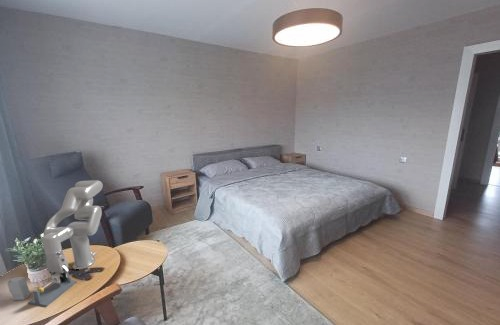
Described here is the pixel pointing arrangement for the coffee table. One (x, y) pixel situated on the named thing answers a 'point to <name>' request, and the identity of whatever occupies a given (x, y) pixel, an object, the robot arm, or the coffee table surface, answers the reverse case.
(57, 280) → the sleeve
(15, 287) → the skincare box
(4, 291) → the coffee table surface
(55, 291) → the slide rail
